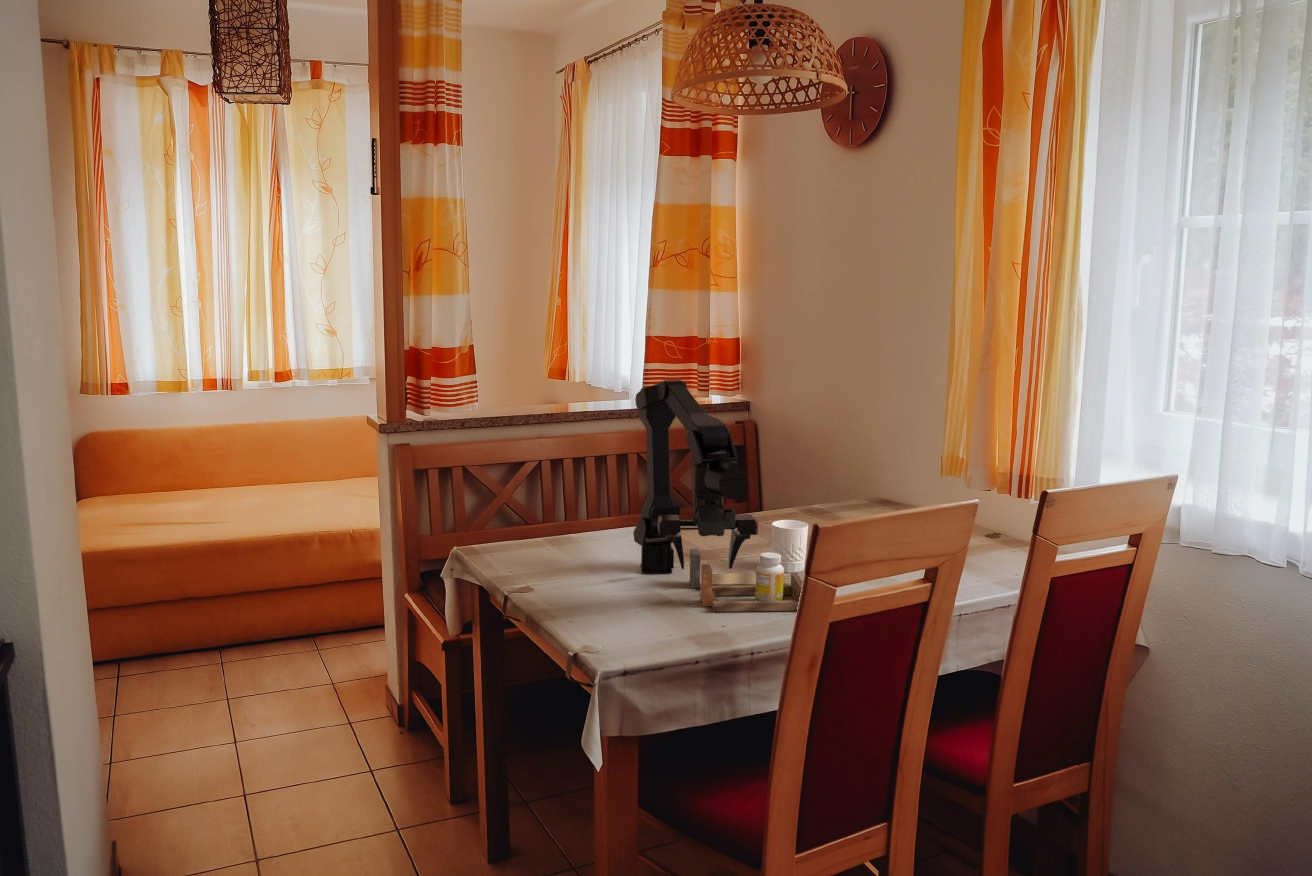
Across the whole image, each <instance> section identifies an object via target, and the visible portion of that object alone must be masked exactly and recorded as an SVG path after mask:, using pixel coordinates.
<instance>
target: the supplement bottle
mask: <svg viewBox="0 0 1312 876" xmlns="http://www.w3.org/2000/svg"><path fill="white" fill-rule="evenodd" d="M759 555H760V556H759V557H760V558H759V561H760V563H759V564H757V566H756V568H755V573H756V591H755V595H754V599H755V600H754V601H784V595H783V582H784V576H785V572H784V568H783V567H782V566H781V565H780V562H781V555H780V554H778V553H772V551H771V552H762V553H760V554H759Z"/></svg>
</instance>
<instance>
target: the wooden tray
mask: <svg viewBox="0 0 1312 876" xmlns="http://www.w3.org/2000/svg"><path fill="white" fill-rule="evenodd" d="M700 574H701V590H700V601H701V604H702V607H711V608H712V611H713V612H714V613H716V612H719V613H720V612H721V613H722V612H779V611H780V612H782V611H786V612H787V611H789V612H790V611H791V612H792V611H796V610H797V607H798V602H799V597H800V593H801V589H802V583H803V582H804V581H803V580H802V578H801V577H800V576H799V574H798V572H797V573H790V584H789V585H783V596H787V595H789V596H792V598H793V600H792V599H790V600H788V599H787V600H783V601H755V600H734V601H733V600H730V601H729V600H728V601H727V600H725V601H722V600H721V601H719V600H718V598H717V597H718V596H725V597H726V596H755V591H756V586H712V574H713V570H712V567H711V564H710V563H709V564H707V563H705V564H703V563H700Z"/></svg>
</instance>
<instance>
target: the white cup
mask: <svg viewBox="0 0 1312 876" xmlns="http://www.w3.org/2000/svg"><path fill="white" fill-rule="evenodd" d="M808 535H809V524H808V523H807V522H804V521H802V520H801V521H800V520H796V519H781V520H776V521H775V520H774V521H773V522H772V523H771V548H772V549H771V550H772V551H771V552H772V553H778V554H780V555H781V562H780V565H781V566H782V567H783V568H784V574H785V573H787V574H794V573H796V572H797V573H801V572H803V571H804V570H805V563H806V557H807V546H808Z"/></svg>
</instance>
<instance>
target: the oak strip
mask: <svg viewBox="0 0 1312 876" xmlns="http://www.w3.org/2000/svg"><path fill="white" fill-rule="evenodd" d="M689 551H690V553H689V582H690V583H689V584H690V586H691V588H692V589H699V590H700V591H701V553H700V550H699V548H690V550H689ZM783 585H790V582H789V580H787V578H786V577H785V575H784V582H783ZM712 586H756V572H755V573H712Z"/></svg>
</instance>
